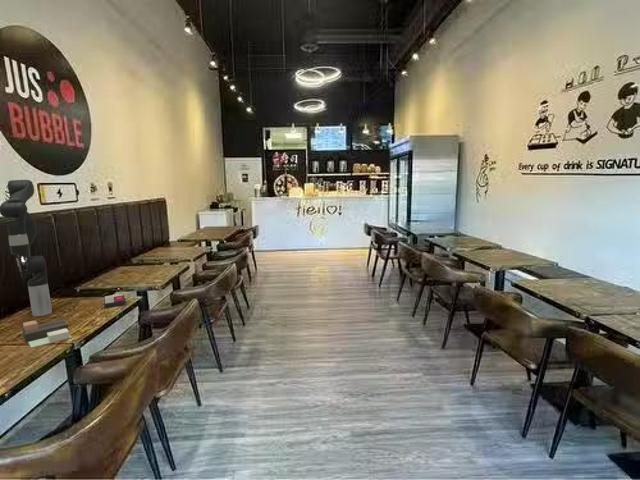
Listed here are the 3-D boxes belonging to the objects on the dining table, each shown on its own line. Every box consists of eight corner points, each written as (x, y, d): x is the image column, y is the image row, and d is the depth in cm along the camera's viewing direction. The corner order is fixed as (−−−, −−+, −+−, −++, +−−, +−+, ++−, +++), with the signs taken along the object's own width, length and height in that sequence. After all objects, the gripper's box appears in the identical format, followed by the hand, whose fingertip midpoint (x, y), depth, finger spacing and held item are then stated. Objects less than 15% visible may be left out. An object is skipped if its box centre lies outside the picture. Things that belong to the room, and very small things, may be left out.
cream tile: (49, 336, 185) (50, 342, 185) (69, 331, 190) (70, 337, 191) (46, 332, 189) (47, 339, 190) (66, 328, 195) (67, 334, 195)
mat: (28, 342, 187) (28, 341, 187) (68, 332, 198) (67, 332, 198) (31, 348, 181) (31, 347, 181) (72, 337, 191) (72, 336, 191)
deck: (23, 336, 196) (22, 328, 195) (63, 326, 207) (62, 318, 207) (26, 342, 187) (25, 334, 187) (69, 332, 198) (67, 324, 198)
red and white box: (103, 303, 234) (103, 295, 247) (104, 310, 235) (104, 302, 248) (124, 299, 239) (123, 292, 252) (125, 306, 240) (124, 299, 253)
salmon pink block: (23, 328, 194) (22, 322, 194) (36, 326, 198) (35, 320, 197) (25, 332, 190) (24, 326, 189) (38, 329, 193) (37, 323, 193)
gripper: (30, 243, 194) (35, 279, 196) (26, 241, 204) (31, 274, 206) (11, 246, 189) (16, 282, 192) (8, 243, 199) (13, 277, 201)
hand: (24, 278), depth 199 cm, fingers closed
